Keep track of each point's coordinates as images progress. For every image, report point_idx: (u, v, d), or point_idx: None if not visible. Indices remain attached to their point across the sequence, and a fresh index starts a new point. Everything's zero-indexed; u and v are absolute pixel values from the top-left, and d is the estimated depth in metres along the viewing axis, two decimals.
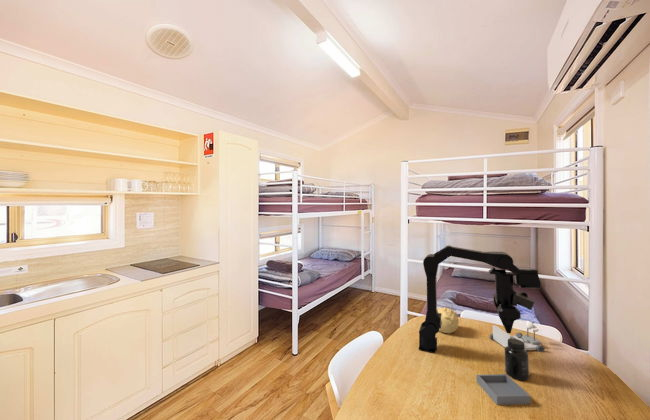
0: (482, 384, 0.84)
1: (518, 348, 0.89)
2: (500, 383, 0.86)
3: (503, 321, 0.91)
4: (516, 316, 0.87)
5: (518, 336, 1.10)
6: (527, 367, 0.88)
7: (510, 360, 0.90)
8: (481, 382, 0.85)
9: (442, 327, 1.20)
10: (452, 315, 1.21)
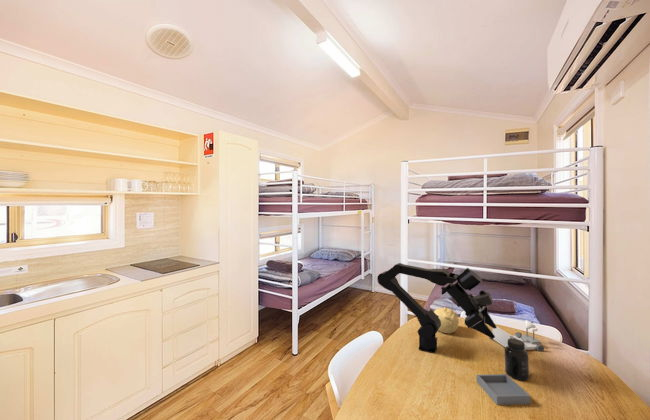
0: (482, 384, 0.84)
1: (518, 348, 0.89)
2: (500, 383, 0.86)
3: (479, 330, 0.92)
4: (478, 319, 0.90)
5: (518, 336, 1.11)
6: (527, 367, 0.88)
7: (510, 360, 0.90)
8: (481, 382, 0.85)
9: (442, 327, 1.20)
10: (452, 315, 1.21)
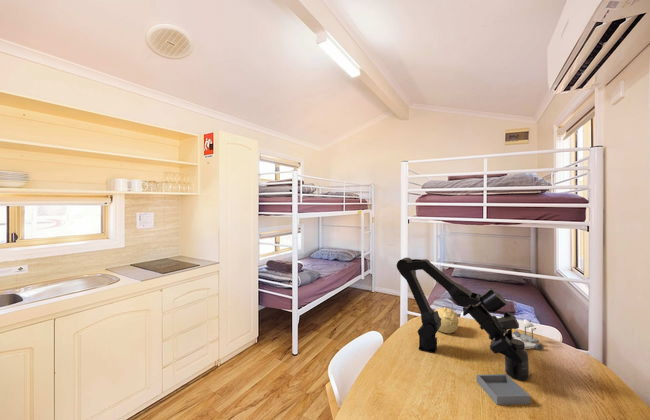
0: (482, 384, 0.84)
1: (518, 348, 0.89)
2: (500, 383, 0.86)
3: (506, 354, 0.89)
4: (505, 345, 0.85)
5: (517, 335, 1.11)
6: (527, 367, 0.88)
7: (510, 360, 0.90)
8: (481, 382, 0.85)
9: (442, 327, 1.20)
10: (452, 315, 1.21)
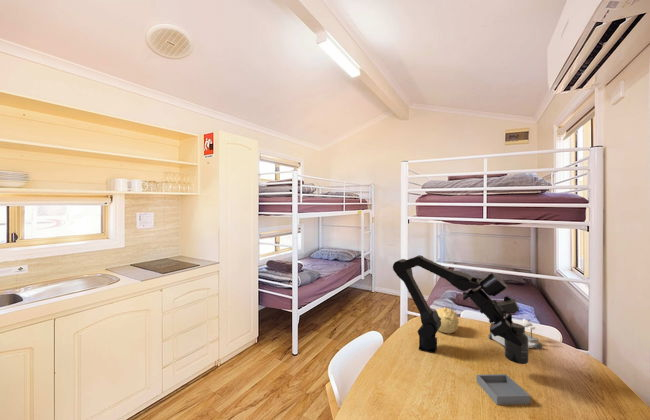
0: (482, 384, 0.84)
1: (518, 331, 0.89)
2: (500, 383, 0.86)
3: (505, 337, 0.89)
4: (505, 328, 0.85)
5: None
6: (527, 350, 0.88)
7: (509, 343, 0.90)
8: (481, 382, 0.85)
9: (442, 327, 1.20)
10: (452, 315, 1.21)
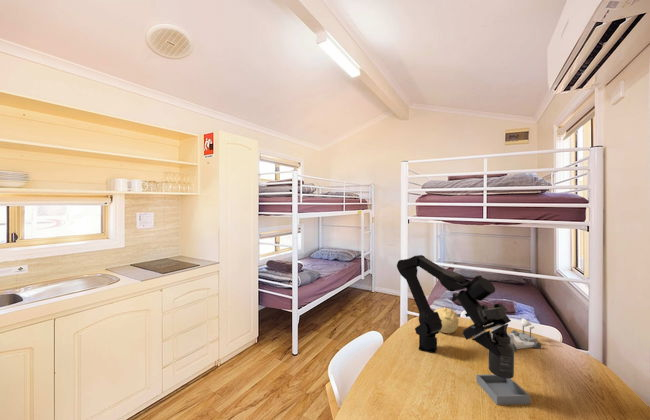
0: (482, 384, 0.84)
1: (499, 341, 0.81)
2: (500, 383, 0.86)
3: (482, 344, 0.83)
4: (474, 332, 0.81)
5: (516, 334, 1.12)
6: (508, 364, 0.79)
7: (490, 353, 0.83)
8: (481, 382, 0.85)
9: (442, 327, 1.20)
10: (452, 315, 1.21)
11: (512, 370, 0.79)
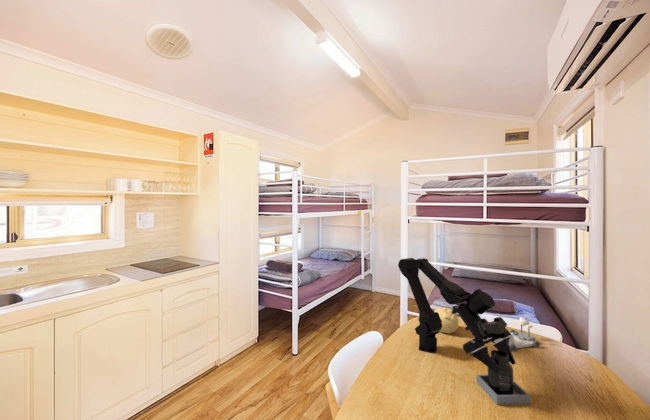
0: (482, 384, 0.84)
1: (497, 360, 0.81)
2: None
3: (480, 359, 0.82)
4: (474, 347, 0.81)
5: (515, 334, 1.13)
6: (507, 383, 0.79)
7: (488, 372, 0.83)
8: (481, 382, 0.85)
9: (442, 327, 1.20)
10: (452, 315, 1.21)
11: (511, 389, 0.79)
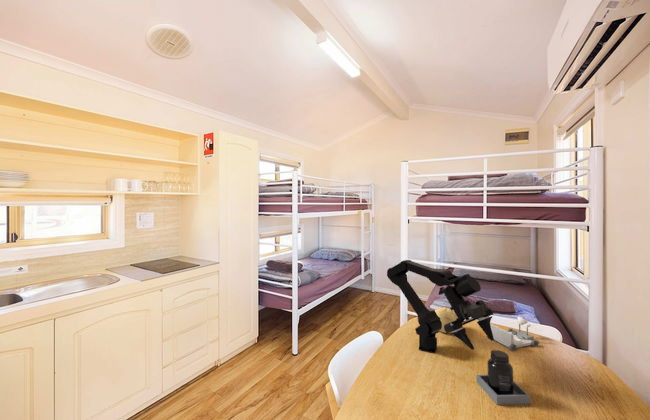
0: (482, 384, 0.84)
1: (497, 360, 0.81)
2: None
3: (459, 338, 0.91)
4: (452, 329, 0.89)
5: (514, 333, 1.13)
6: (507, 383, 0.79)
7: (488, 371, 0.83)
8: (481, 382, 0.85)
9: (442, 327, 1.20)
10: (452, 315, 1.21)
11: (511, 389, 0.79)
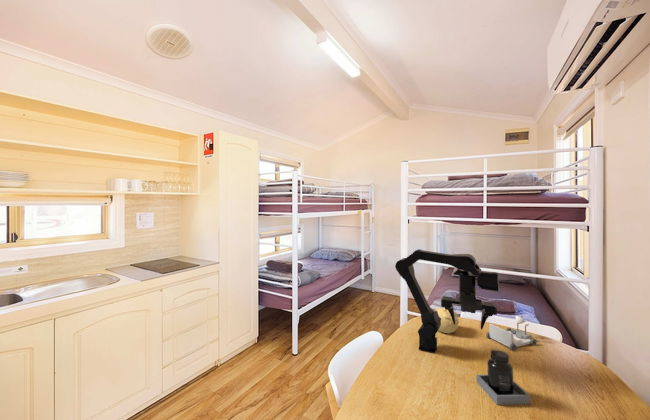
0: (482, 384, 0.84)
1: (497, 360, 0.81)
2: None
3: None
4: (441, 304, 1.03)
5: (513, 332, 1.14)
6: (507, 383, 0.79)
7: (488, 371, 0.83)
8: (481, 382, 0.85)
9: (442, 327, 1.20)
10: None
11: (511, 389, 0.79)
